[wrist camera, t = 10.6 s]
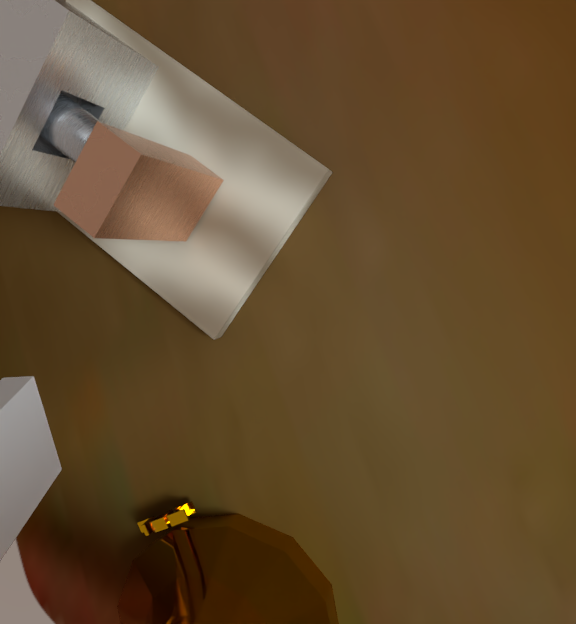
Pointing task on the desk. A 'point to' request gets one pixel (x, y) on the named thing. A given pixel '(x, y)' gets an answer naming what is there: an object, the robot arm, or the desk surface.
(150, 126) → the base board
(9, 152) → the bearing block
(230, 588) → the trophy cup
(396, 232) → the desk surface
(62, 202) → the shaft
